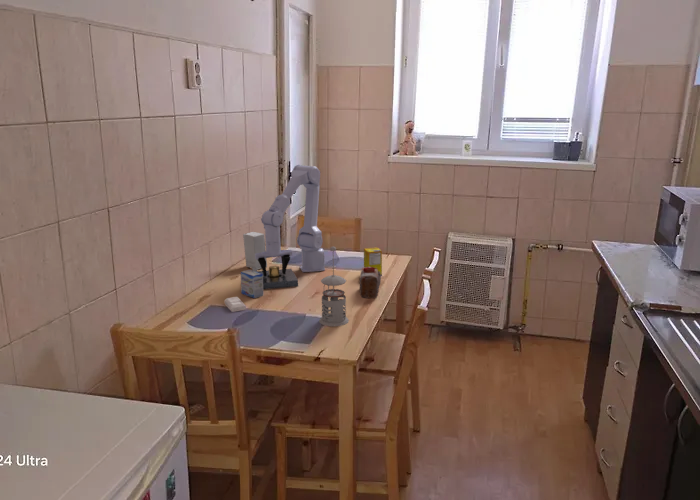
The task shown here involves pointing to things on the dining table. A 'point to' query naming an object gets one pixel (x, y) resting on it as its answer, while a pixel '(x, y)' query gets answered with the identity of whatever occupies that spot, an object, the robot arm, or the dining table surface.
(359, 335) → the dining table surface
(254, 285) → the medicine box
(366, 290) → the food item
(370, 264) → the supplement box
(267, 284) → the jig
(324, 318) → the french press
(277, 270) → the cylinder
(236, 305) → the soap bar
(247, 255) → the skincare box
